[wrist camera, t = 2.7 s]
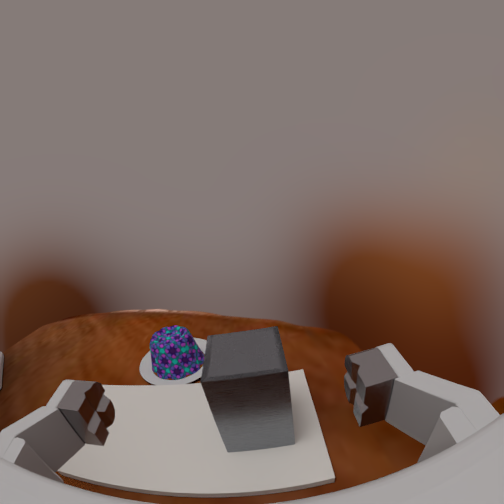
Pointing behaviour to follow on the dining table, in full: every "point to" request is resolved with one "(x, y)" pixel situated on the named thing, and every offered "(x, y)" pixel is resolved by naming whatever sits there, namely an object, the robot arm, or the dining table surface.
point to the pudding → (173, 357)
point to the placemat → (197, 447)
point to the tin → (249, 389)
